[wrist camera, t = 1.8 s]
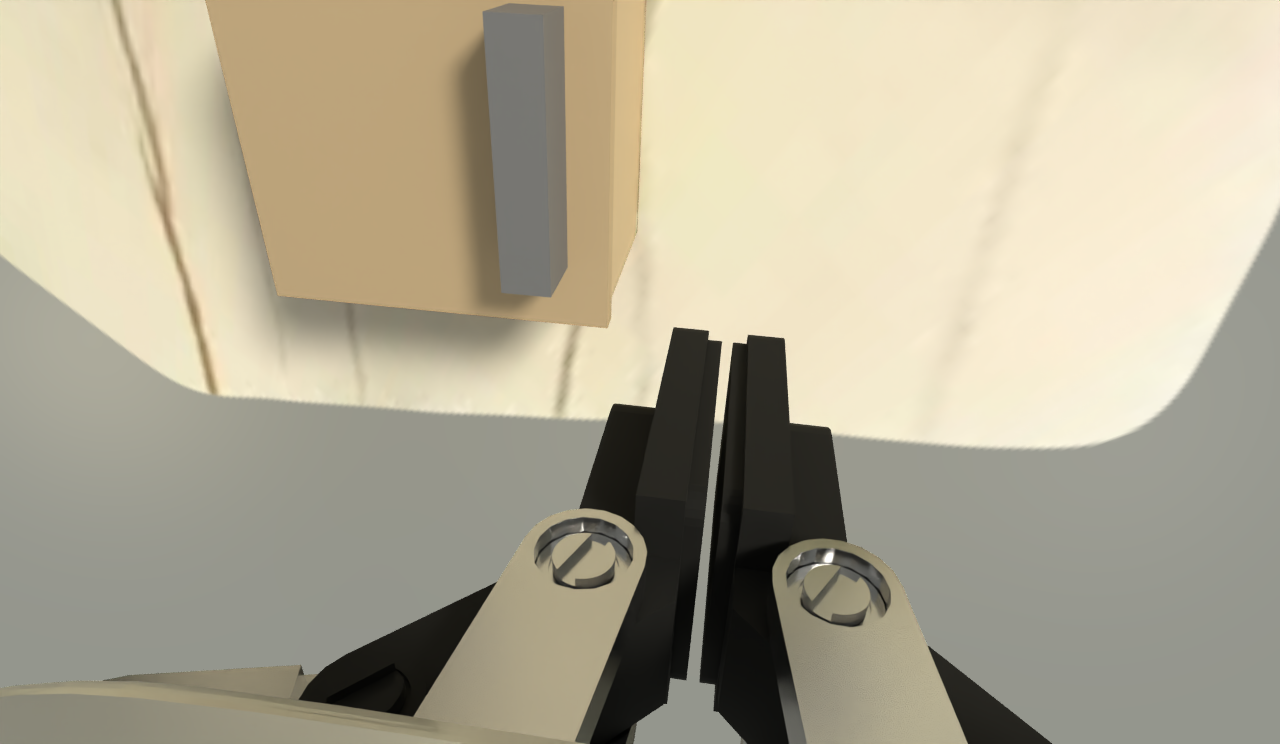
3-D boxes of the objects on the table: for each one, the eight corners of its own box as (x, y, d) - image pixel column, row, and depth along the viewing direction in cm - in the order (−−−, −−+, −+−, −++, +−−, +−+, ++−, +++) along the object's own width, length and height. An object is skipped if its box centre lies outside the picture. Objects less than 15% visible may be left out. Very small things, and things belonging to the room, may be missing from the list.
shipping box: (342, -89, 28) (213, -93, 22) (648, -75, 27) (613, -75, 21) (386, 210, 35) (297, 279, 28) (637, 231, 34) (607, 308, 27)
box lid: (198, -101, 21) (117, -105, 19) (618, -83, 20) (597, -84, 17) (289, 286, 28) (239, 325, 25) (611, 317, 27) (594, 362, 24)
